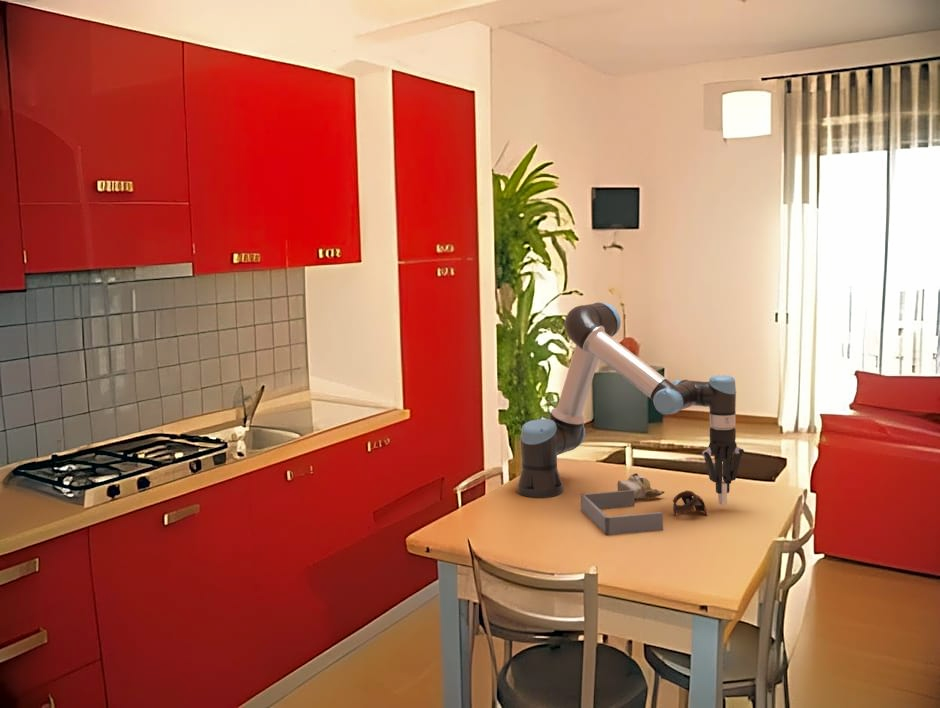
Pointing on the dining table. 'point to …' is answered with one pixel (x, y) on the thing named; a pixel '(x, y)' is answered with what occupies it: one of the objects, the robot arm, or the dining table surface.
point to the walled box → (618, 523)
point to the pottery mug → (688, 503)
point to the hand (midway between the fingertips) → (722, 503)
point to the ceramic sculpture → (639, 487)
